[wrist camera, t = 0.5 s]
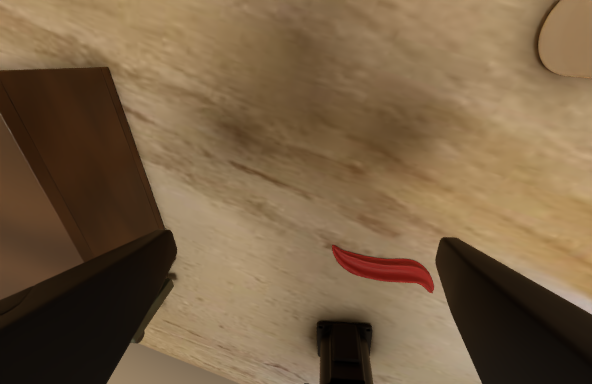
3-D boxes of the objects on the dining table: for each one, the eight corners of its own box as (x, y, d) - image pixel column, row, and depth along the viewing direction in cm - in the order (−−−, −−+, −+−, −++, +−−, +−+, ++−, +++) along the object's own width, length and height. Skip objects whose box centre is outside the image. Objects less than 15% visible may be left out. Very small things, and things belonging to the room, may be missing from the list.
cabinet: (175, 259, 29) (122, 330, 21) (65, 256, 31) (-21, 320, 23) (108, 66, 20) (-24, 71, 13) (-41, 77, 22) (-237, 87, 14)
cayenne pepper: (447, 279, 26) (456, 295, 25) (415, 304, 28) (420, 320, 27) (351, 223, 24) (353, 235, 23) (324, 253, 26) (323, 267, 25)
